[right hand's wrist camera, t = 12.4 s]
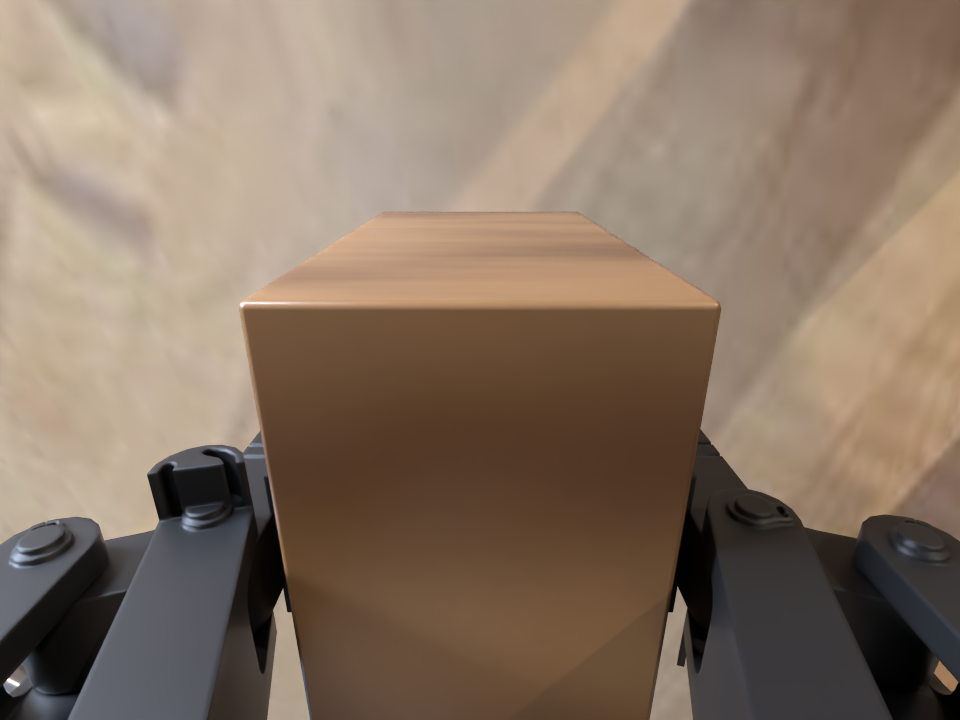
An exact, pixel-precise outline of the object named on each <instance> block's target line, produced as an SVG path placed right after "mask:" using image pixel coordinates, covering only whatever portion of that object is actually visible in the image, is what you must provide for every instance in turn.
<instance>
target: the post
mask: <svg viewBox="0 0 960 720" xmlns="http://www.w3.org/2000/svg"><path fill="white" fill-rule="evenodd" d="M239 310H240V316H241V322H242V327H243V333H244V339H245V345H246V350H247V356H248V362H249V368H250V374H251V379H252V385H253V391H254V397H255V402H256V408H257V414H258V420H259V426H260V431H261V437H262V443H263V449H264V454H265V460H266V466H267V472H268V478H269V483H270V489H271V495H272V501H273V506H274V512H275V518H276V524H277V530H278V535H279V541H280V547H281V553H282V558H283V564H284V570H285V576H286V582H287V587H288V593H289V599H290V605H291V610H292V616H293V622H294V628H295V634H296V639H297V645H298V651H299V657H300V662H301V668H302V674H303V680H304V686H305V691H306V697H307V703H308V709H309V714H310V720H649V719H650V713H651V708H652V702H653V696H654V690H655V685H656V679H657V673H658V668H659V662H660V656H661V650H662V645H663V639H664V633H665V627H666V622H667V616H668V610H669V604H670V599H671V593H672V587H673V582H674V576H675V570H676V564H677V559H678V553H679V547H680V541H681V536H682V530H683V524H684V518H685V513H686V507H687V501H688V496H689V490H690V484H691V478H692V473H693V467H694V461H695V455H696V450H697V444H698V438H699V432H700V427H701V421H702V415H703V410H704V404H705V398H706V392H707V387H708V381H709V375H710V369H711V364H712V358H713V352H714V346H715V341H716V335H717V329H718V324H719V318H720V312H721V307H720V303H719V302H718V301H716V300H715V299H713V298H712V297H710V296H709V295H707V294H705V293H704V292H702V291H701V290H699V289H698V288H696V287H694V286H693V285H691V284H690V283H688V282H687V281H685V280H683V279H682V278H680V277H679V276H677V275H676V274H674V273H673V272H671V271H669V270H668V269H666V268H665V267H663V266H662V265H660V264H658V263H657V262H655V261H654V260H652V259H651V258H649V257H647V256H646V255H644V254H643V253H641V252H640V251H638V250H636V249H635V248H633V247H632V246H630V245H629V244H627V243H625V242H624V241H622V240H621V239H619V238H618V237H616V236H615V235H613V234H611V233H610V232H608V231H607V230H605V229H604V228H602V227H600V226H599V225H597V224H596V223H594V222H593V221H591V220H589V219H588V218H586V217H585V216H583V215H582V214H580V213H578V212H383V213H381V214H379V215H378V216H376V217H374V218H373V219H371V220H370V221H368V222H366V223H365V224H363V225H362V226H360V227H359V228H357V229H355V230H354V231H352V232H351V233H349V234H348V235H346V236H344V237H343V238H341V239H340V240H338V241H336V242H335V243H333V244H332V245H330V246H329V247H327V248H325V249H324V250H322V251H321V252H319V253H318V254H316V255H314V256H313V257H311V258H310V259H308V260H306V261H305V262H303V263H302V264H300V265H299V266H297V267H295V268H294V269H292V270H291V271H289V272H288V273H286V274H284V275H283V276H281V277H280V278H278V279H276V280H275V281H273V282H272V283H270V284H269V285H267V286H265V287H264V288H262V289H261V290H259V291H257V292H256V293H254V294H253V295H251V296H250V297H248V298H246V299H245V300H243V301H242V302H241V303H240V308H239Z"/></svg>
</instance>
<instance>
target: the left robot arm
mask: <svg viewBox="0 0 960 720" xmlns="http://www.w3.org/2000/svg"><path fill="white" fill-rule="evenodd" d="M26 676H27V672H26V670H25V668H24V666H23V665H20V666H19V667H18V668H17V669H16V671H15V672H14V673H13V674H12V675H11V676H10V677H9V679H8V680H7V681H6V682H5V683H4V684H3V686H4V688H5V690H6V692H7V693H9V694H10V693H11V692H12V691H13V690H14V689H16V688H17V687H18V686H19V685H20V684H21V682H22V681H23V680H24V679H25V678H26Z"/></svg>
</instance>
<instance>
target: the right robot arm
mask: <svg viewBox="0 0 960 720" xmlns="http://www.w3.org/2000/svg"><path fill="white" fill-rule="evenodd" d="M147 476H148V480H149V484H150V487H151V491H152V495H153V498H154V502H155V506H156V509H157V513H158V517H159V520H160V521H159V523H158V525H157V527H156V530H153V531H149V532H145V533H140V534H135V535H130V536H125V537H120V538H115V539H110V540H105V541H104V539H103V536H102V533H101V530H100V527H99V525H98V524H97V523H96V522H94V521H93V520H92V519H88V518H81V517H71V518H63V519H55V520H51V521H47V522H46V523H45V522H43V523H40V524H37V525H34V526H32V527H31V528H29V529H27V530H25V531H23V532H21V533H18V534H16V535H14V536H13V537H11V538H10V539H8V540H7V541H5V542H4V543H2V544H1V545H0V720H267V715H268V706H269V697H270V688H271V679H272V670H273V661H274V652H275V643H276V634H277V630H276V624H275V618H274V613H273V609H274V607H275V604H276V602H277V600H278V598H279V596H280V593H281V591H282V589H284V595H285V601H286V606H287V612H292V610H291V605H290V599H289V593H288V587H287V582H286V576H285V570H284V564H283V558H282V553H281V547H280V541H279V535H278V530H277V524H276V518H275V512H274V506H273V501H272V495H271V489H270V483H269V478H268V472H267V466H266V460H265V454H264V449H263V443H262V437H261V431H260V432H259V433H258V435H257V436H256V437H255V438H254V440H253V441H252V442H251V443H250V447H247V449H246V450H245V451H244V452H243V453H242V452H241V451H239V450H238V449H237V448H234V447H230V446H225V445H207V446H201V447H196V448H192V449H187V450H185V451H182V452H179V453H177V454H174V455H171V456H169V457H168V458H166V459H164V460H163V461H161V462H159V463H158V464H156V465H155V466H154V467H153V468H152V469H151V470H150V471H149V473H148V474H147ZM677 586H678V588H679V590H680V592H681V594H682V596H683V599H684V601H685V603H686V605H687V613H686V618H685V623H684V629H683V634H682V639H681V644H680V650H679V655H678V662H677V665H678V666H683V667H684V664H685V659H687V668H688V677H689V686H690V695H691V704H692V713H693V720H960V541H958V540H957V539H955V538H954V537H952V536H951V535H949V534H948V533H946V532H944V531H942V530H939V529H937V528H935V527H933V526H931V525H930V524H928V523H925V522H922V521H919V520H917V521H916V520H914V519H912V518H908V517H901V516H892V515H879V516H871V517H869V518H868V519H867V520H865V521H864V522H863V523H862V526H861V529H860V532H859V535H858V538H852V537H847V536H842V535H837V534H832V533H827V532H822V531H817V530H813V529H809V528H805V527H804V526H803V524H802V522H801V520H800V519H799V517H798V516H797V515H796V514H795V512H794V511H793V510H792V509H791V508H790V507H788V506H787V505H785V504H784V503H782V502H781V501H780V500H778V499H776V498H773V497H771V496H769V495H766V494H764V493H762V492H757V491H753V490H749V489H747V487H746V486H745V485H744V484H743V482H742V481H741V480H740V479H739V477H738V476H737V475H736V474H735V472H734V471H733V470H732V468H731V467H730V466H729V465H728V463H727V462H726V461H725V460H724V458H723V457H722V456H720V453H719V452H718V451H717V450H716V448H715V447H714V446H713V445H711V442H710V441H709V439H708V438H707V437H706V436H705V434H704V433H703V432H702V431H701V429H700V432H699V438H698V444H697V450H696V455H695V461H694V467H693V473H692V478H691V484H690V490H689V496H688V501H687V507H686V513H685V518H684V524H683V530H682V536H681V541H680V547H679V553H678V559H677V564H676V570H675V576H674V582H673V587H672V593H671V599H670V604H669V610H668V612H673V609H674V603H675V597H676V592H677ZM939 660H940V661H941V663H942V664H943V665H944V666H945V667H946V668H947V669H948V670H949V672H950V673H951V674H952V675H953V676H954V677H955V678H956V680H957V681H958V682H959V683H958V685H957V687H956V689H955V690H954V691H953V692H951V691H950V690H949V689H948V688H947V687H946V686H945V685H944V684H943V683H942V682H941V681H940V680H939V679H938V678H937V676H936V675H935V674H934V671H935V669H936V667H937V665H938V662H939ZM22 663H23V666H24V668H25V670H26V672H27V676H26V678H25V679H24V680H23V681H22V682H21V684H20V685H19V686H18V687H17V688H16V689H14V690H13V691H12V692H11V693H10V694H9V693H7V692H6V690H5V688H4V686H3V684H4V683H5V682H6V681H7V680H8V679H9V677H10V676H11V675H12V674H13V673H14V672H15V671H16V669H17V668H18V667H19V666H20V665H21V664H22Z"/></svg>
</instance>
